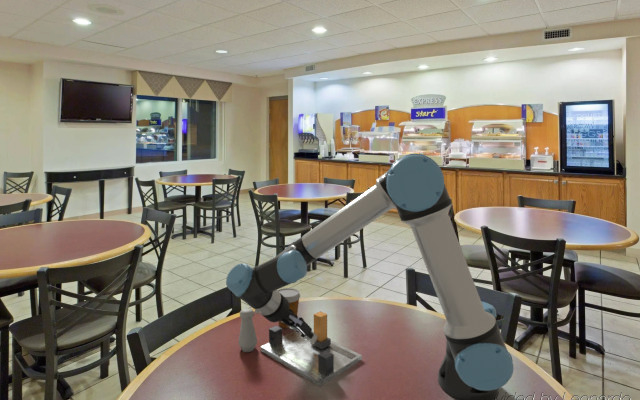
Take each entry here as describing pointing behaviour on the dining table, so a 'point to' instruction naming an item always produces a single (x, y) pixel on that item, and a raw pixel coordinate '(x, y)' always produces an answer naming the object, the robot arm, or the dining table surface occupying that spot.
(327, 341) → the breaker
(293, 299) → the disposable coffee cup
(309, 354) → the tray
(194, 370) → the dining table surface
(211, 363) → the dining table surface
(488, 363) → the robot arm
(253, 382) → the dining table surface
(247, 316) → the salt shaker
